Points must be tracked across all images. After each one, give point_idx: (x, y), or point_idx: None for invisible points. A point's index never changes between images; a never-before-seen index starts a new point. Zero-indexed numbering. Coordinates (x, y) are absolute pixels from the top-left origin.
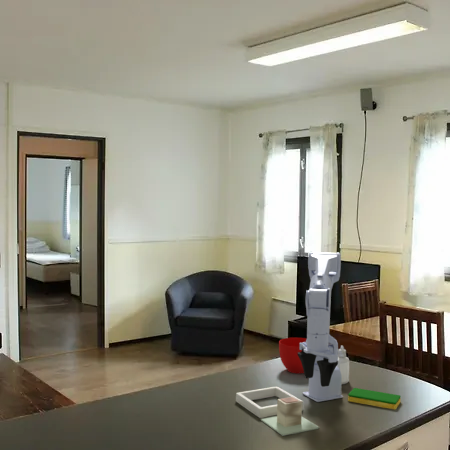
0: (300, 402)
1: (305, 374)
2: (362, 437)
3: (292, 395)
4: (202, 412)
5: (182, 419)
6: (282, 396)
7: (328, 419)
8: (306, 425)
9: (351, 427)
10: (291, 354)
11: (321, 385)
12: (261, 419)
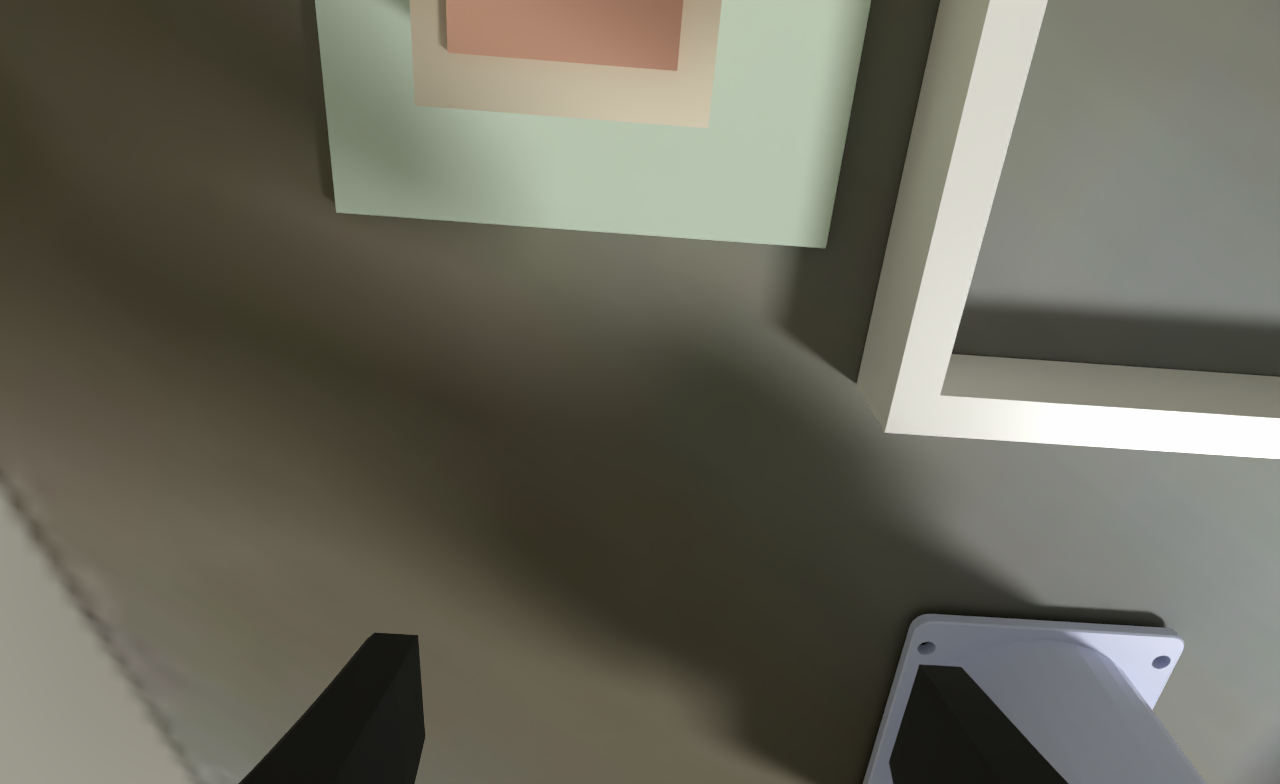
0: (419, 75)
1: (962, 716)
2: (15, 435)
3: (1117, 442)
4: None
5: None
6: (1262, 391)
7: (515, 445)
8: None
9: (261, 498)
10: None
11: (406, 641)
12: None
